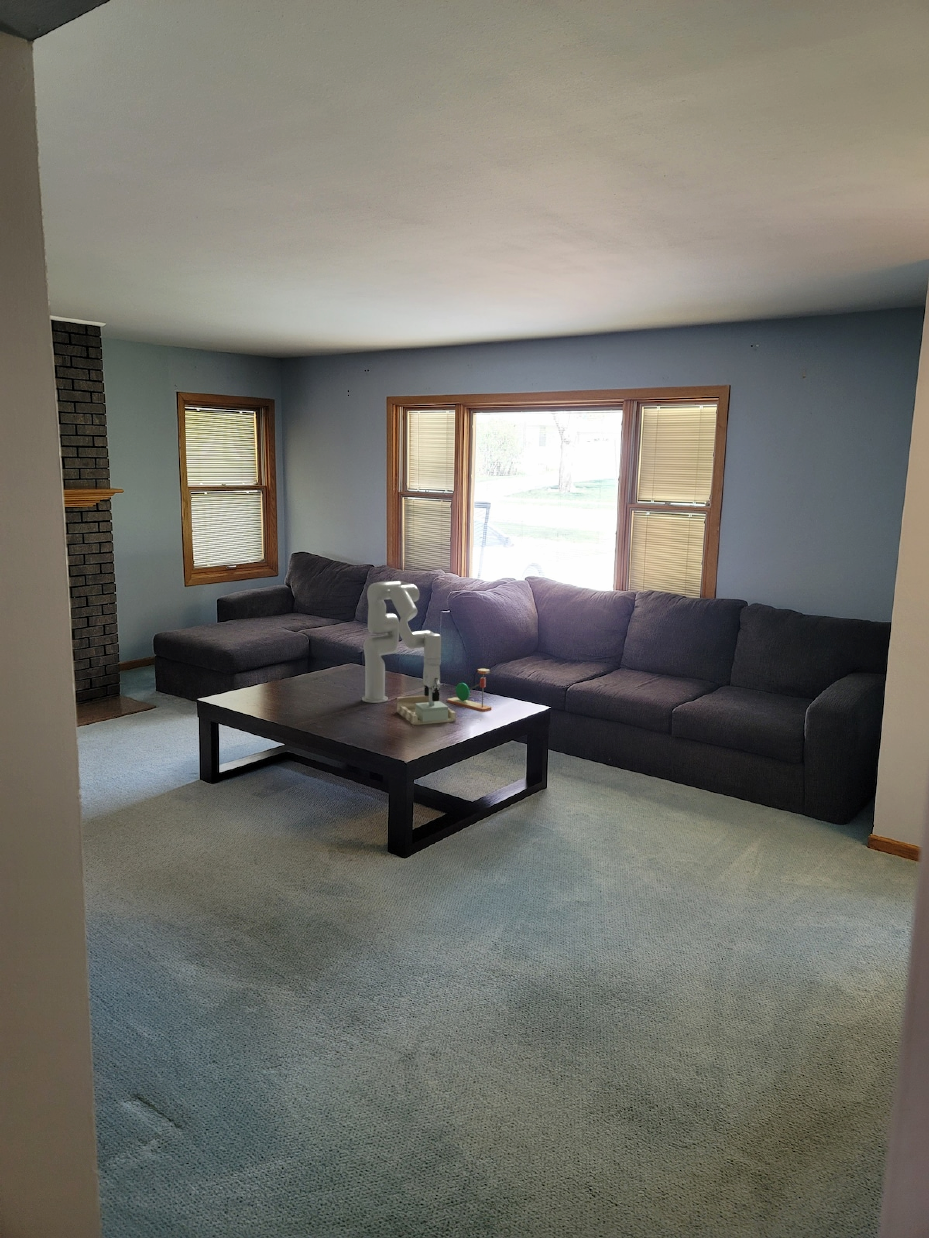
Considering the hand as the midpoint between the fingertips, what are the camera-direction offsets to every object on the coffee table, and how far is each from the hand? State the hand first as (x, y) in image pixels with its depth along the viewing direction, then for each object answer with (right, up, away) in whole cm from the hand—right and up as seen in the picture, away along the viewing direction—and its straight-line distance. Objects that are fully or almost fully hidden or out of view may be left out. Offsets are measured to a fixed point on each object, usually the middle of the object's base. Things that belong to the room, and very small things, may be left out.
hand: (431, 698), depth 396 cm
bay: (-3, -9, +8) cm, 12 cm away
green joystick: (0, -9, +2) cm, 9 cm away
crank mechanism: (+17, -6, +29) cm, 34 cm away
